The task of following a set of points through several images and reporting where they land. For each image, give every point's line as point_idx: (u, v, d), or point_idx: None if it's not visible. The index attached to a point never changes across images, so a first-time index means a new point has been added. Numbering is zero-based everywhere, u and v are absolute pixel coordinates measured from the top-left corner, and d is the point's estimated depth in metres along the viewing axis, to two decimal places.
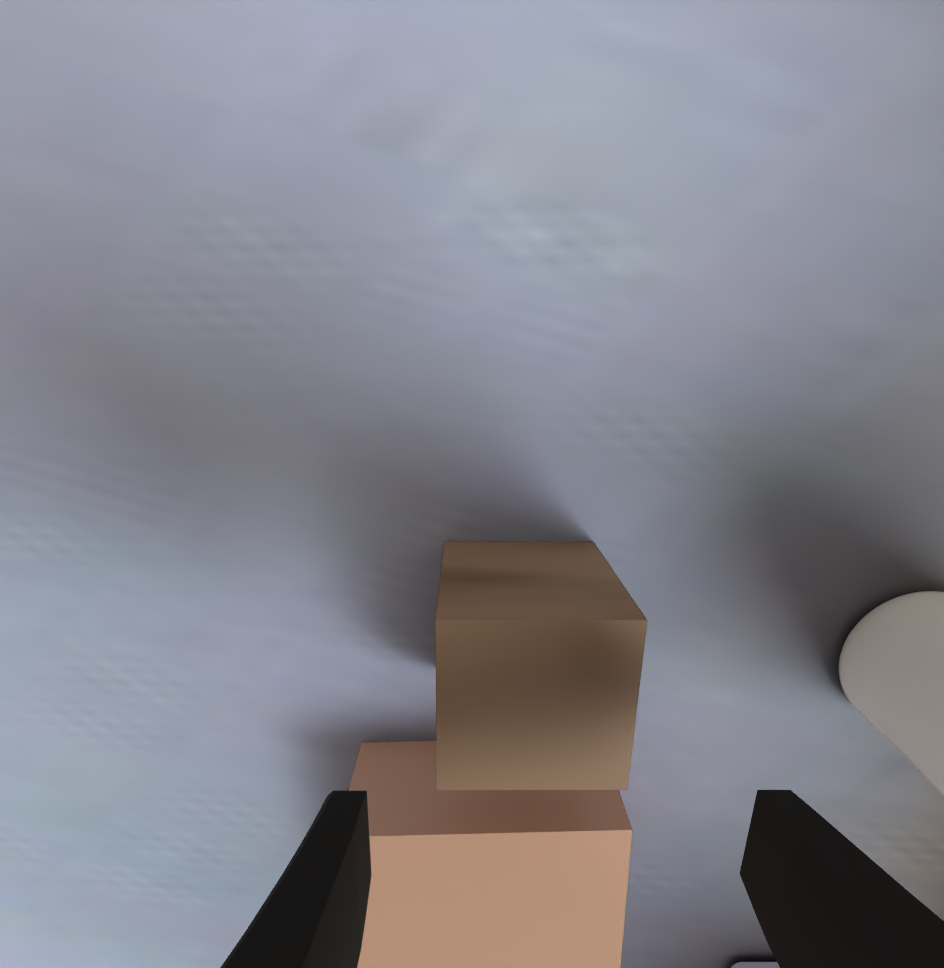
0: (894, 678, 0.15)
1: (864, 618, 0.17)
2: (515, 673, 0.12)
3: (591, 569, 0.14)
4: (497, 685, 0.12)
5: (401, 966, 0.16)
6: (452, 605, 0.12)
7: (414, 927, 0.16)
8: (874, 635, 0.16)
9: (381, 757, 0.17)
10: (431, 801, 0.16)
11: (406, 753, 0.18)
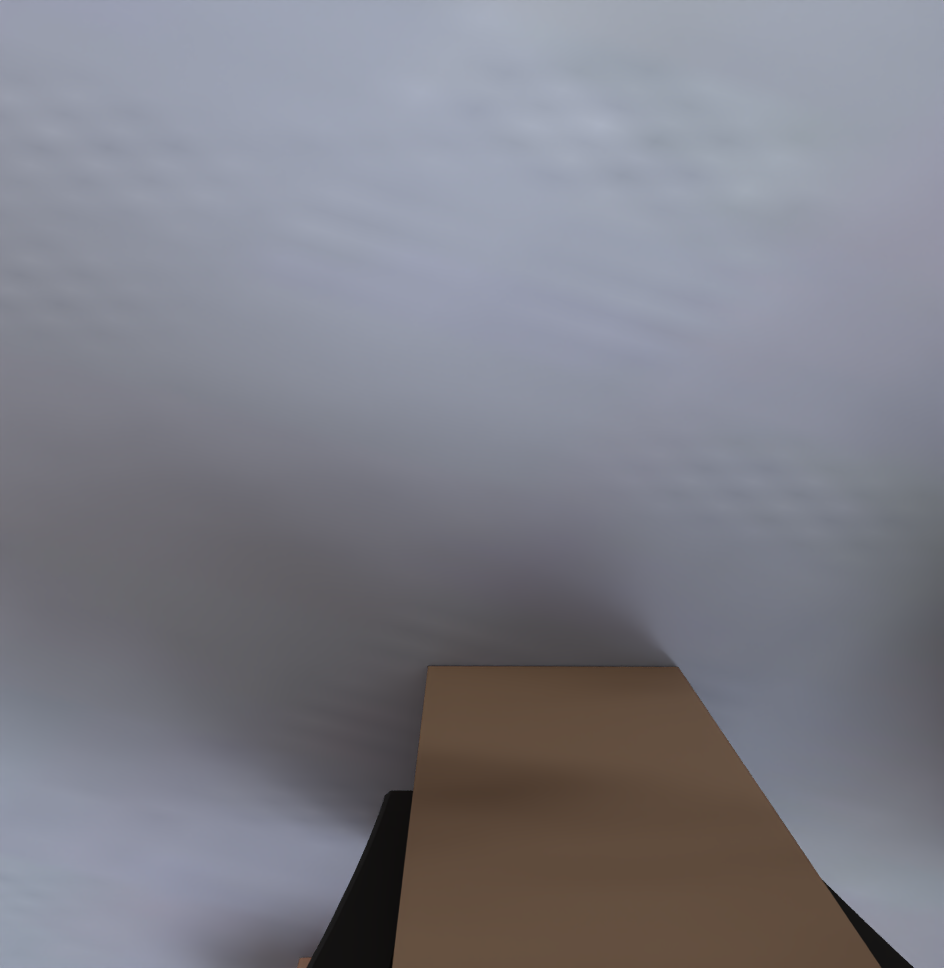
0: None
1: None
2: None
3: (699, 756, 0.07)
4: None
5: None
6: (432, 911, 0.05)
7: None
8: None
9: None
10: None
11: None
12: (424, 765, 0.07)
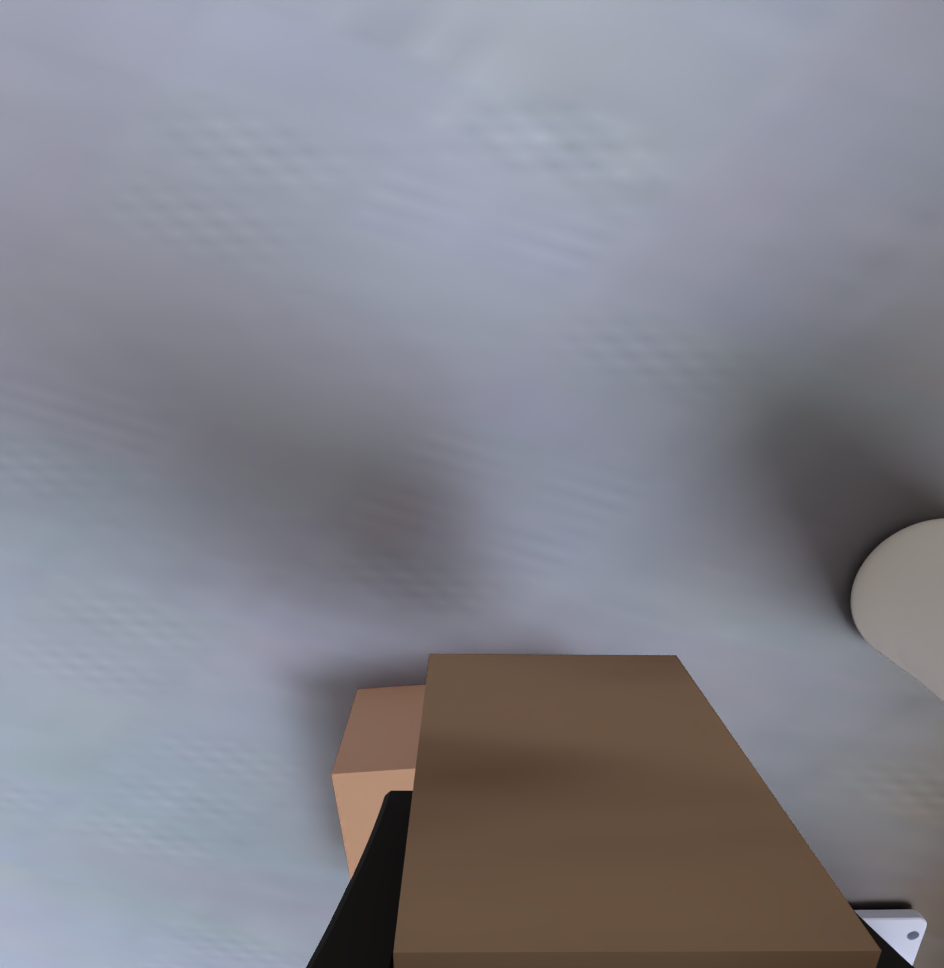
0: (910, 601, 0.14)
1: (877, 547, 0.16)
2: None
3: (696, 739, 0.08)
4: None
5: None
6: (433, 883, 0.06)
7: None
8: (888, 562, 0.15)
9: (378, 701, 0.17)
10: None
11: (403, 696, 0.17)
12: (426, 747, 0.07)
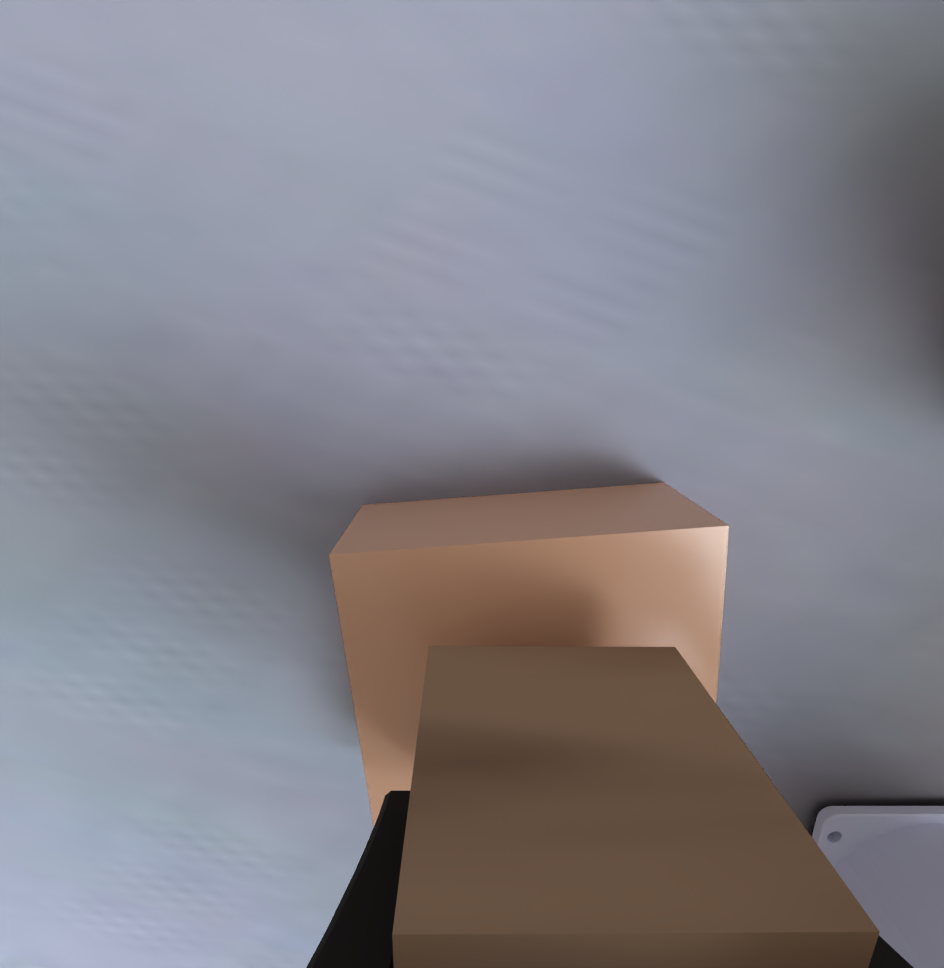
0: None
1: None
2: None
3: (694, 728, 0.08)
4: None
5: None
6: (432, 867, 0.06)
7: None
8: None
9: (388, 510, 0.14)
10: (454, 528, 0.12)
11: (419, 506, 0.14)
12: (425, 736, 0.07)
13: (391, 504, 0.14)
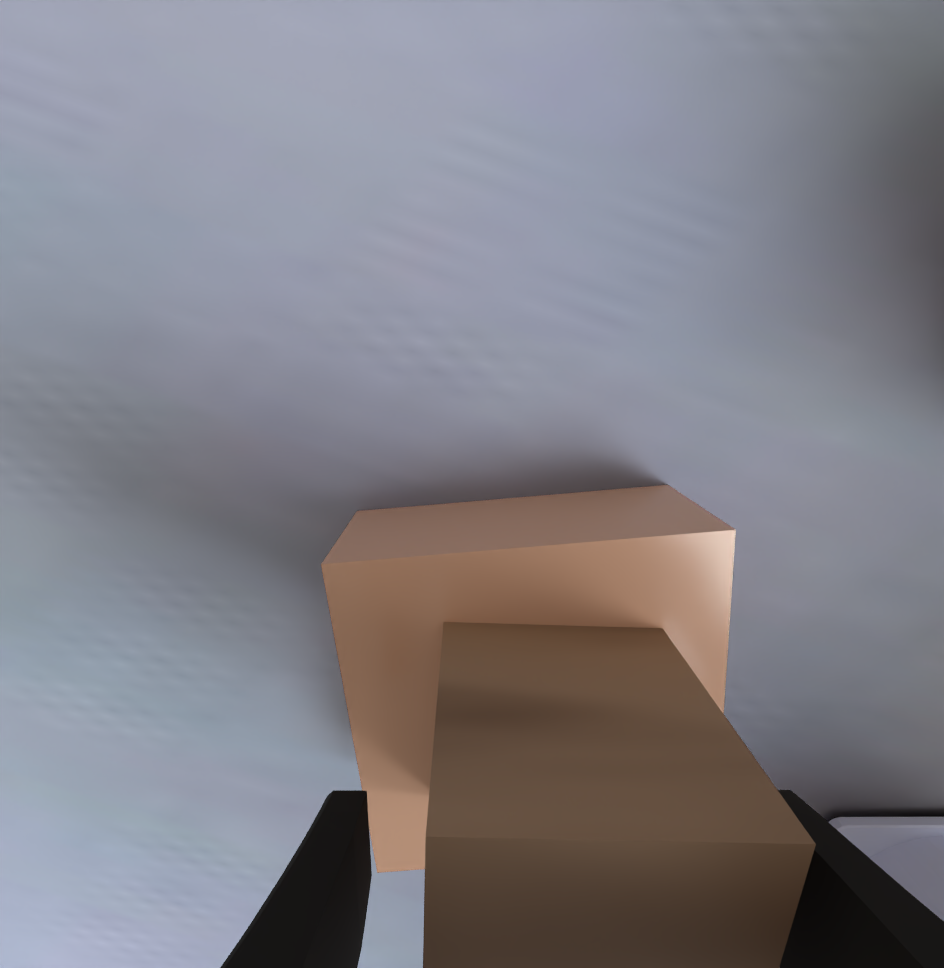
0: None
1: None
2: (566, 922, 0.07)
3: (676, 694, 0.09)
4: (533, 940, 0.07)
5: (425, 766, 0.12)
6: (456, 791, 0.07)
7: None
8: None
9: (383, 515, 0.13)
10: (451, 534, 0.12)
11: (415, 511, 0.13)
12: (444, 694, 0.09)
13: (386, 509, 0.14)
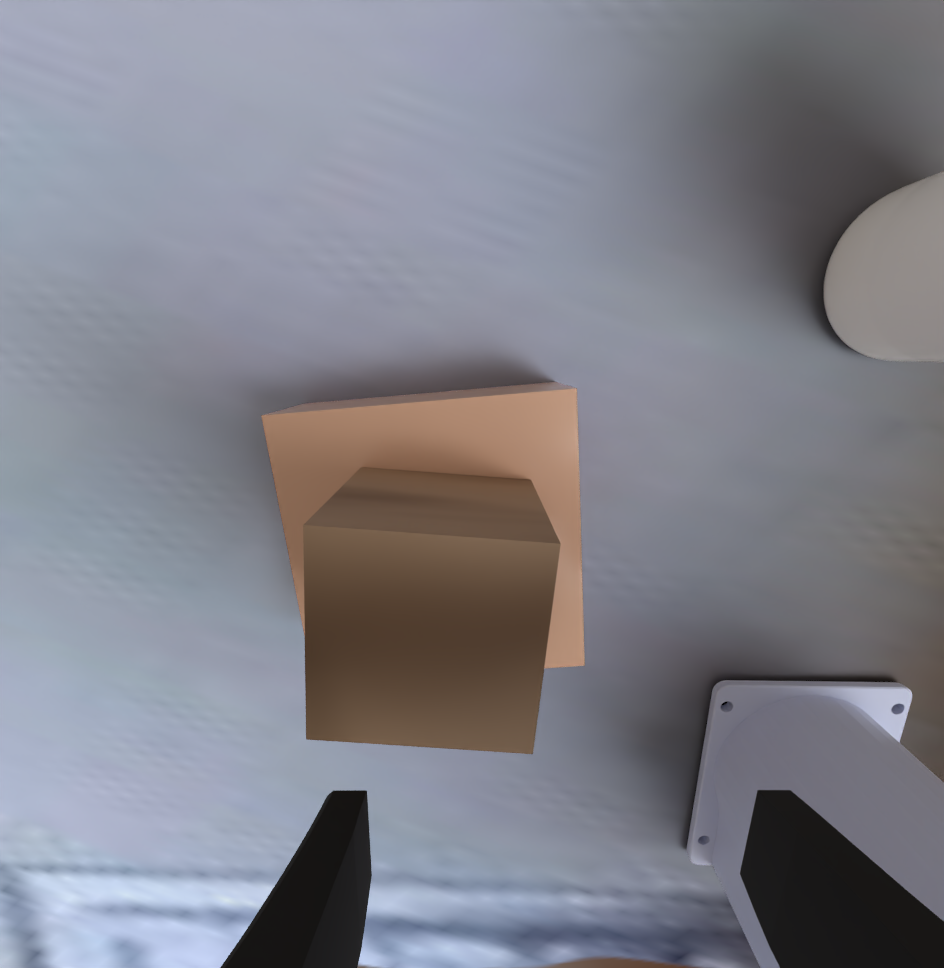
0: (880, 238, 0.14)
1: (850, 225, 0.15)
2: (400, 600, 0.10)
3: (516, 499, 0.12)
4: (378, 614, 0.10)
5: None
6: (332, 515, 0.10)
7: None
8: (860, 224, 0.15)
9: (322, 403, 0.17)
10: (367, 403, 0.15)
11: (349, 400, 0.17)
12: (344, 489, 0.12)
13: (327, 401, 0.17)
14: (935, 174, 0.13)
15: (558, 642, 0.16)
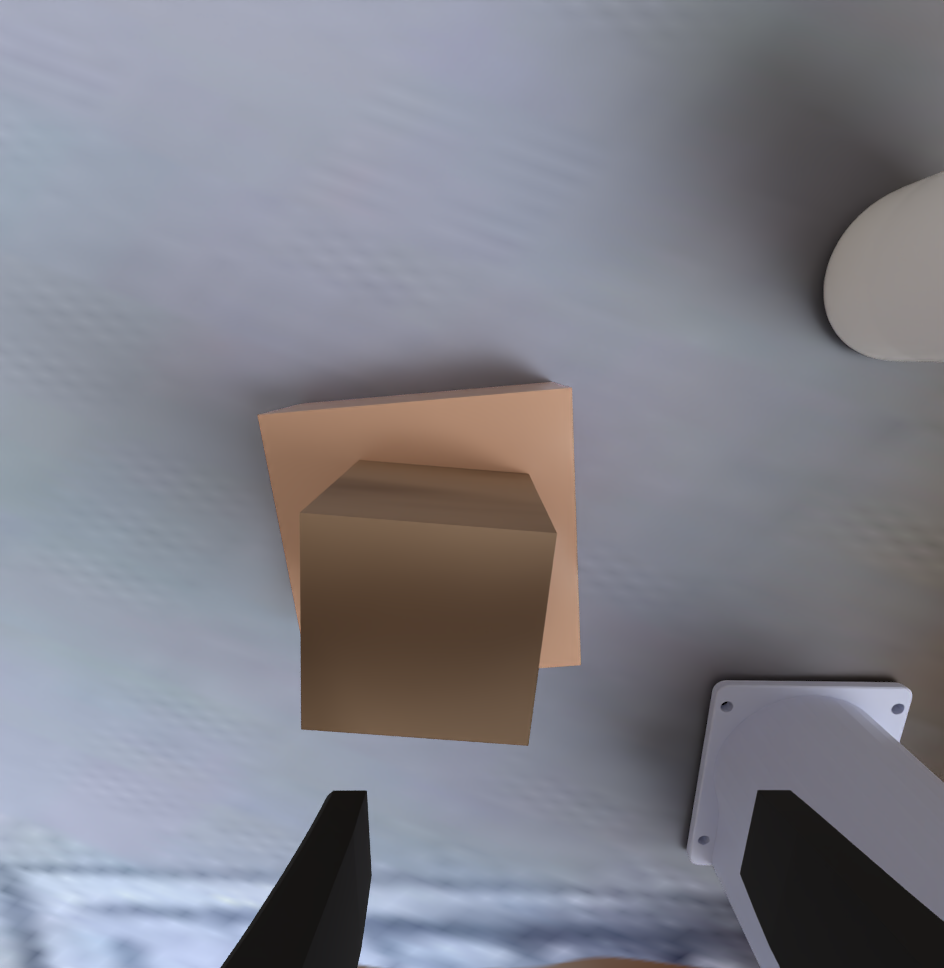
0: (880, 238, 0.14)
1: (850, 225, 0.15)
2: (395, 588, 0.10)
3: (513, 492, 0.12)
4: (374, 602, 0.10)
5: None
6: (328, 504, 0.10)
7: None
8: (860, 224, 0.15)
9: (319, 402, 0.17)
10: (363, 403, 0.15)
11: (345, 400, 0.17)
12: (342, 480, 0.12)
13: (324, 401, 0.17)
14: (935, 174, 0.13)
15: (554, 642, 0.16)
